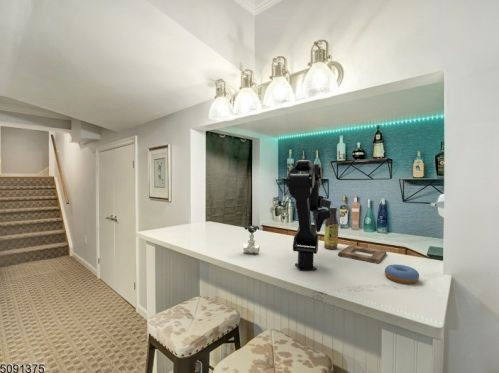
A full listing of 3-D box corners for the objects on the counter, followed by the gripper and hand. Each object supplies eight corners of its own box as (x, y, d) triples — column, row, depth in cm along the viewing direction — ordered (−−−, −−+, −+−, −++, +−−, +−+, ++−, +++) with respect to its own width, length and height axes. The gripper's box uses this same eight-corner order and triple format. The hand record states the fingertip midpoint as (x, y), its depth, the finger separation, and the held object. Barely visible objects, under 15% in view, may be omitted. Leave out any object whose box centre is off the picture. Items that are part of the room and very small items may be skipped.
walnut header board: (386, 254, 114) (386, 251, 114) (378, 263, 101) (378, 259, 101) (349, 248, 124) (349, 245, 124) (338, 255, 111) (338, 252, 111)
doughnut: (424, 286, 80) (423, 271, 80) (388, 283, 83) (387, 269, 83) (414, 277, 89) (413, 264, 90) (382, 275, 92) (381, 262, 92)
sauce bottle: (329, 250, 120) (330, 208, 119) (321, 246, 126) (322, 206, 125) (340, 249, 122) (341, 207, 121) (332, 245, 128) (333, 206, 127)
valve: (257, 256, 110) (257, 228, 109) (242, 255, 111) (242, 227, 111) (260, 252, 116) (260, 225, 116) (245, 251, 117) (246, 225, 117)
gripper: (342, 195, 101) (341, 232, 105) (316, 187, 119) (316, 218, 122) (318, 199, 98) (318, 237, 101) (294, 190, 115) (295, 222, 119)
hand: (312, 228), depth 111 cm, fingers open, 9 cm apart
